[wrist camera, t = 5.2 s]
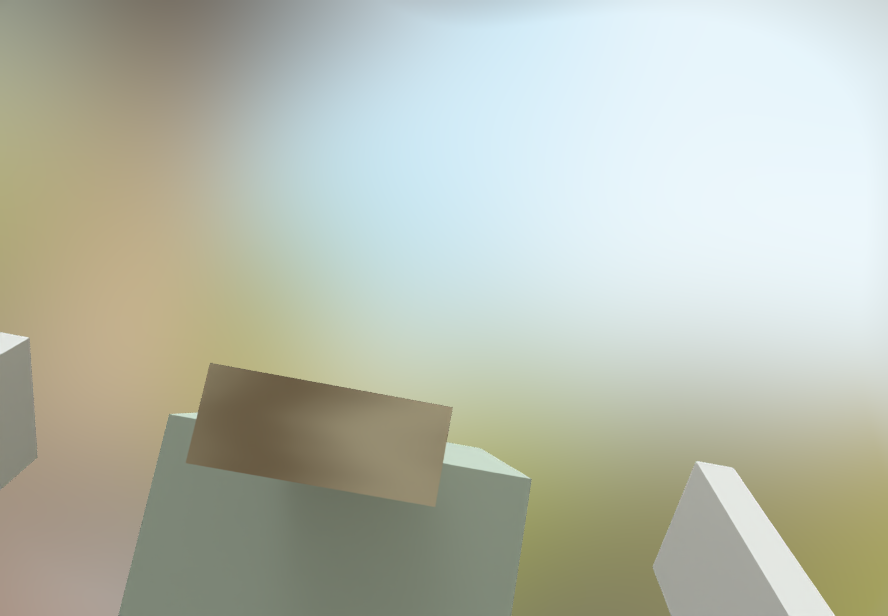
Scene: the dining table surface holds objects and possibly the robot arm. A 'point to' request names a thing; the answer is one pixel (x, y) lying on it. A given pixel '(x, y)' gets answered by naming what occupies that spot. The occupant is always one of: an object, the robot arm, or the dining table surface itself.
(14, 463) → the robot arm
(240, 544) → the stand
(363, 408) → the block
